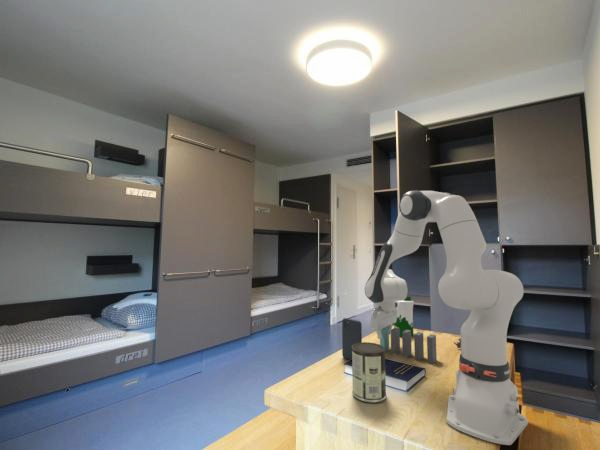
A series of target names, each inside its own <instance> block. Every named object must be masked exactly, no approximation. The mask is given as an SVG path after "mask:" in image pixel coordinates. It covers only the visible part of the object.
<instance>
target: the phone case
mask: <svg viewBox="0 0 600 450" xmlns="http://www.w3.org/2000/svg"><path fill="white" fill-rule="evenodd" d="M341 322H342V323H341V324H342V325H341V326H342V327H341V328H342V329H341V331H342V335H341V337H342V339H341V340H342V343H341V345H342V349H341V350H342V351H341V353H342V357H343V359H345V360H349V361H351V360H352V345H353V344H356V343H361V342H362V341H363V339H362V335H363V333H362V328H363V327H362V322H361V321H360V320H356V319H352V318H347V317H345V318H343V319H342V320H341Z"/></svg>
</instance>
